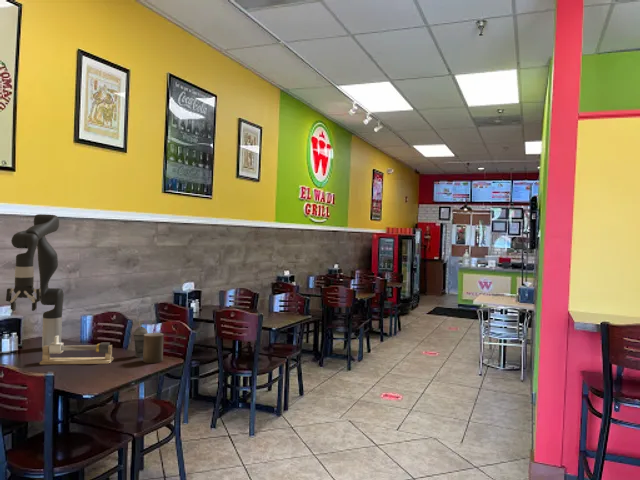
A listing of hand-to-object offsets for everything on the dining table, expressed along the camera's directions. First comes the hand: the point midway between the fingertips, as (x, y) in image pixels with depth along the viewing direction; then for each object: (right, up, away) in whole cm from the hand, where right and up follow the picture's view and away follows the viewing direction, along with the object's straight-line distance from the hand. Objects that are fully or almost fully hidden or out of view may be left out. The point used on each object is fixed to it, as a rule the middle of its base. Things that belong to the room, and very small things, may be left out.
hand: (23, 310), depth 228 cm
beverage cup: (+43, -29, +30) cm, 60 cm away
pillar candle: (+53, -29, +22) cm, 64 cm away
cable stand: (+18, -28, +15) cm, 36 cm away
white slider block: (+8, -23, +14) cm, 28 cm away
